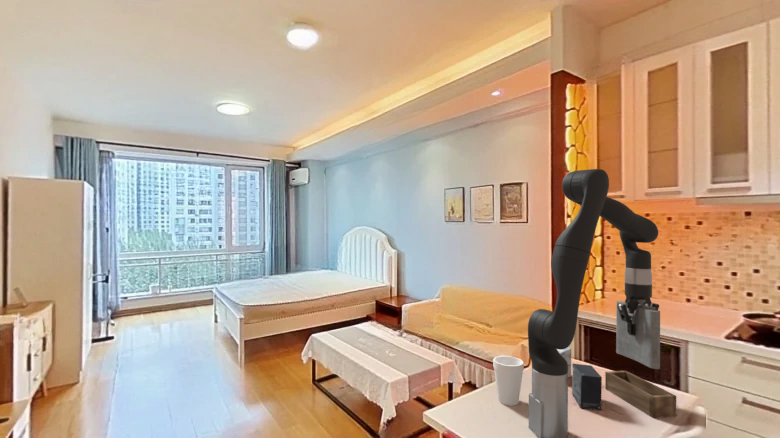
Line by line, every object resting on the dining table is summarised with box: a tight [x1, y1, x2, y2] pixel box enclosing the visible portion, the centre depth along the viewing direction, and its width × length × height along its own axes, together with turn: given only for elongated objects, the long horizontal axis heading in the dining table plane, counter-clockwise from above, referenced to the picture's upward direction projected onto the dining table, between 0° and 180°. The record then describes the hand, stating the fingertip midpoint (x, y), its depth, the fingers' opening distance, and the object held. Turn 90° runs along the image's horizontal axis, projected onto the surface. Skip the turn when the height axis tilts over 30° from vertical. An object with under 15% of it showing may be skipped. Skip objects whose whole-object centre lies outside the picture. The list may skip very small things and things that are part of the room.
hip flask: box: [615, 299, 661, 370], centre depth 124 cm, size 16×4×20 cm, turn 10°
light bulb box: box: [557, 346, 572, 378], centre depth 144 cm, size 11×7×11 cm, turn 130°
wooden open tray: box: [604, 370, 677, 419], centre depth 124 cm, size 8×20×6 cm, turn 8°
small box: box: [571, 363, 603, 411], centre depth 124 cm, size 11×6×10 cm, turn 168°
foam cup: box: [492, 355, 525, 407], centre depth 124 cm, size 10×9×13 cm
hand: (638, 334), depth 124 cm, fingers closed on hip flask, 4 cm apart
